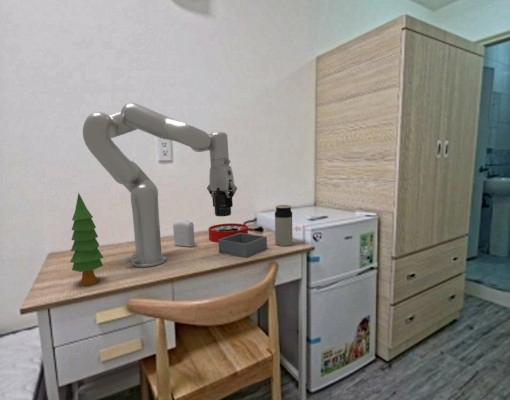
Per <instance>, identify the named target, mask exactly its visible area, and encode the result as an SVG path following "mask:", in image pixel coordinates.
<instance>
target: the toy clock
mask: <svg viewBox="0 0 510 400" xmlns="http://www.w3.org/2000/svg"><path fill="white" fill-rule="evenodd" d="M238 233H245V234H249V226H248V225H246V224H243V223H219V224H213V225H211V226H209V227H208V240H209V241H210V242H212V243H216V244H217V243H218V240H219V239H222V238H225V237H229V236H232V235H235V234H238ZM218 244H219V243H218Z"/></svg>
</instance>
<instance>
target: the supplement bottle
mask: <svg viewBox="0 0 510 400" xmlns="http://www.w3.org/2000/svg"><path fill="white" fill-rule="evenodd" d="M216 191H217V193H215V195H214V207H213V208H214V215H215V216H216V217H227V216H231V215H232V207H229V208H227V207H226V198H227V196H226V194H225V191H221V190H220V189H219V188H218V187H217V190H216Z"/></svg>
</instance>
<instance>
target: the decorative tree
mask: <svg viewBox="0 0 510 400" xmlns="http://www.w3.org/2000/svg"><path fill="white" fill-rule="evenodd" d="M93 218H94V217H93V215H92V214H91V212H90V211H89V210H88V208H87V205H86V204H85V203H84V200H83V199H82V196H81V194H80V192H78V194H77V199H76V205H75V210H74V213H73V216H72V218H71V221H73V223H72V227H71V231H73V233H72V237H71V241H74V242H73V244H72V247H71V249H70V252H74V253H73V255H72V256H71V257H72V258H71V259H70V261H69V262H70V263H73V265H72V269H71V271H74V272H78V273H82V275H81V280H80V282H79V285H80V286H82V287H83V286H92V285H95V284H96V283H98V282H99V281H100V278H98V277H97V276H96V274H95V270H97V269H99V268H101V267H103V266H104V265H103V262H102V261H101V259H104V256H103V254H102V252H101V251H100V250H99V249H98V248H99V246H100V243H99V242H98V240H97V238H99V236H98V234H97V232H96V230H95V229H96V228H97V227H96V225H95V222H94V221H93Z"/></svg>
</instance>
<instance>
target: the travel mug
mask: <svg viewBox="0 0 510 400" xmlns="http://www.w3.org/2000/svg"><path fill="white" fill-rule="evenodd" d="M275 209H276V210H275V212H274V235H275V236H274V237H275V238H274V239H275V240H274V241H275V242H274V243H275V245H276V246H280V247H289V246H292V245H293V244H294V243H293V242H294V241H293V212H292V205H290V204H278V205H275Z"/></svg>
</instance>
